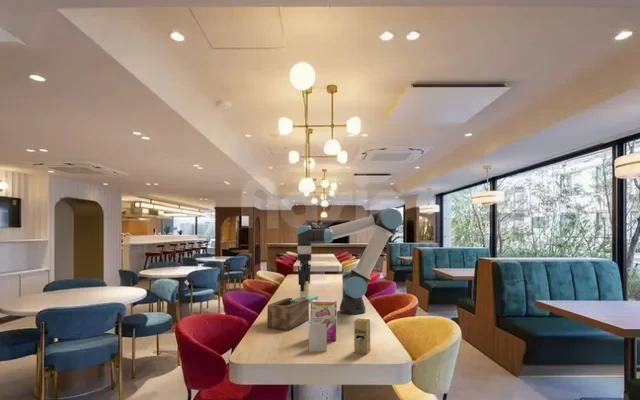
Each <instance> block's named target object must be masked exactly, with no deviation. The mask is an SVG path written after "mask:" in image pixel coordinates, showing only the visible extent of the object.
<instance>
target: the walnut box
mask: <svg viewBox="0 0 640 400" xmlns="http://www.w3.org/2000/svg"><path fill="white" fill-rule="evenodd" d="M291 300H293V298H292V297H286V298H284V299H280V300H278V301H275V302H273V303H270V304H267V316H266V317H267V318H266V319H267V321H266V322H267V323H266V324H267V329H269V330H280V331H293V330H294V329H296V328H297V327H299V326H301V325H304V324H305V323H306V322H308V321H309V320H310V318H309V317H310V316H309V314H310V313H309V312H310V309H309V308H310V305H309V304H310V303H309V299H303V300H300V301H298V302H295V303H293V304H290V301H291Z"/></svg>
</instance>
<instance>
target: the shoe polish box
mask: <svg viewBox="0 0 640 400" xmlns="http://www.w3.org/2000/svg"><path fill="white" fill-rule="evenodd" d="M353 331H354V332H353V336H354V337H353V338H354V339H353V340H354V342H353V343H354V344H353V348H354V349H353V350H354V351H353V352H354V354H361V355H368V354H369V353H370V352H371V319H369V318H368V319H367V318H356V319H355V320H354V321H353Z"/></svg>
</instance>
